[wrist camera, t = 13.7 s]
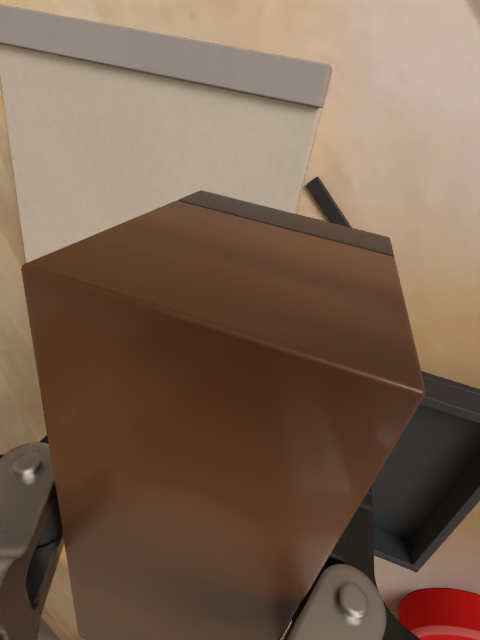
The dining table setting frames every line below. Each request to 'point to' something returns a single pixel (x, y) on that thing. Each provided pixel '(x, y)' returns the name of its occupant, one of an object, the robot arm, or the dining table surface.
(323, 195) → the marker scribble
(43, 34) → the whiteboard
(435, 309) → the dining table surface
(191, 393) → the eraser
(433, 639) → the decorative ornament
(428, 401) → the tray
